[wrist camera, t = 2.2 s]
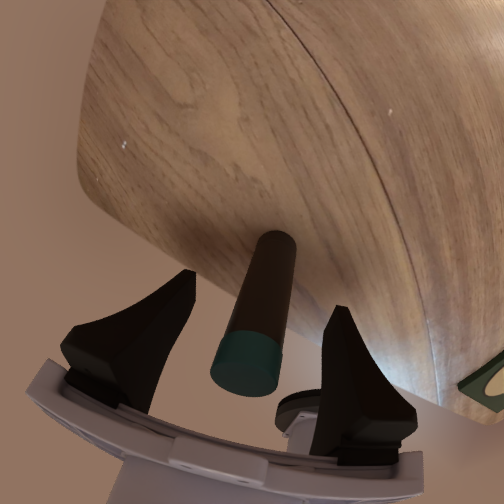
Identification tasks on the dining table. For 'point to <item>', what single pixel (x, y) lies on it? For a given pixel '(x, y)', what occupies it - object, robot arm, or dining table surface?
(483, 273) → the dining table surface
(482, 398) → the kitchen scale
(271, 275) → the pill bottle
